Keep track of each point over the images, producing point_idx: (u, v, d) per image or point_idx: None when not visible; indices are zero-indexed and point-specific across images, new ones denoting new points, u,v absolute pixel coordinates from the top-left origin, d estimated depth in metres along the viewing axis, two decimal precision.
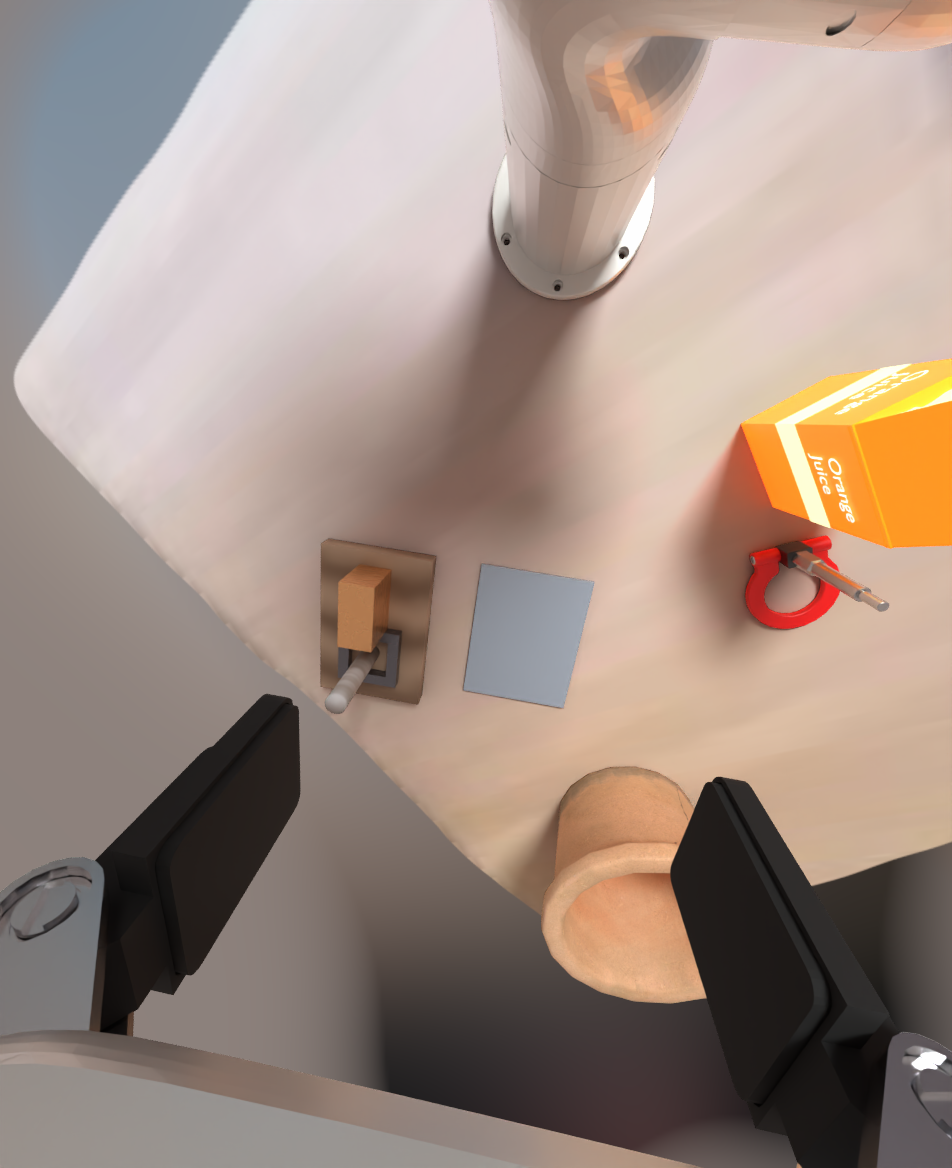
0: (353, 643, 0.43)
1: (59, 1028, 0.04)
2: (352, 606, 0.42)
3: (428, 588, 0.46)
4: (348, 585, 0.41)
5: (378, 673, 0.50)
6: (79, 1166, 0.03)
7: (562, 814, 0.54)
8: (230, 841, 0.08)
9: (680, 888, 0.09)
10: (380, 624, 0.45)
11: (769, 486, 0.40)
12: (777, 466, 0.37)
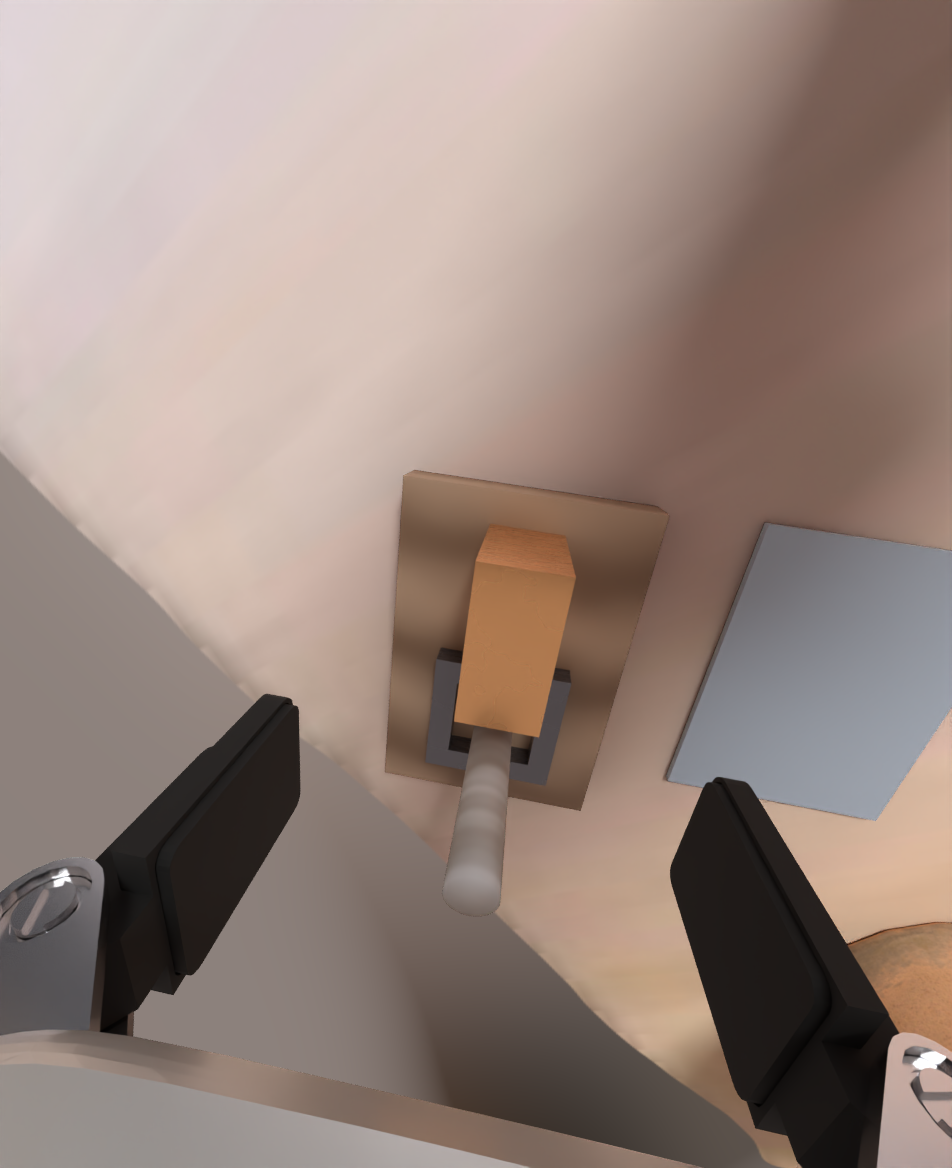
0: (496, 715, 0.17)
1: (59, 1028, 0.04)
2: (506, 626, 0.16)
3: (647, 579, 0.20)
4: (502, 570, 0.15)
5: None
6: (79, 1166, 0.03)
7: None
8: (230, 841, 0.08)
9: (680, 888, 0.09)
10: None
11: None
12: None
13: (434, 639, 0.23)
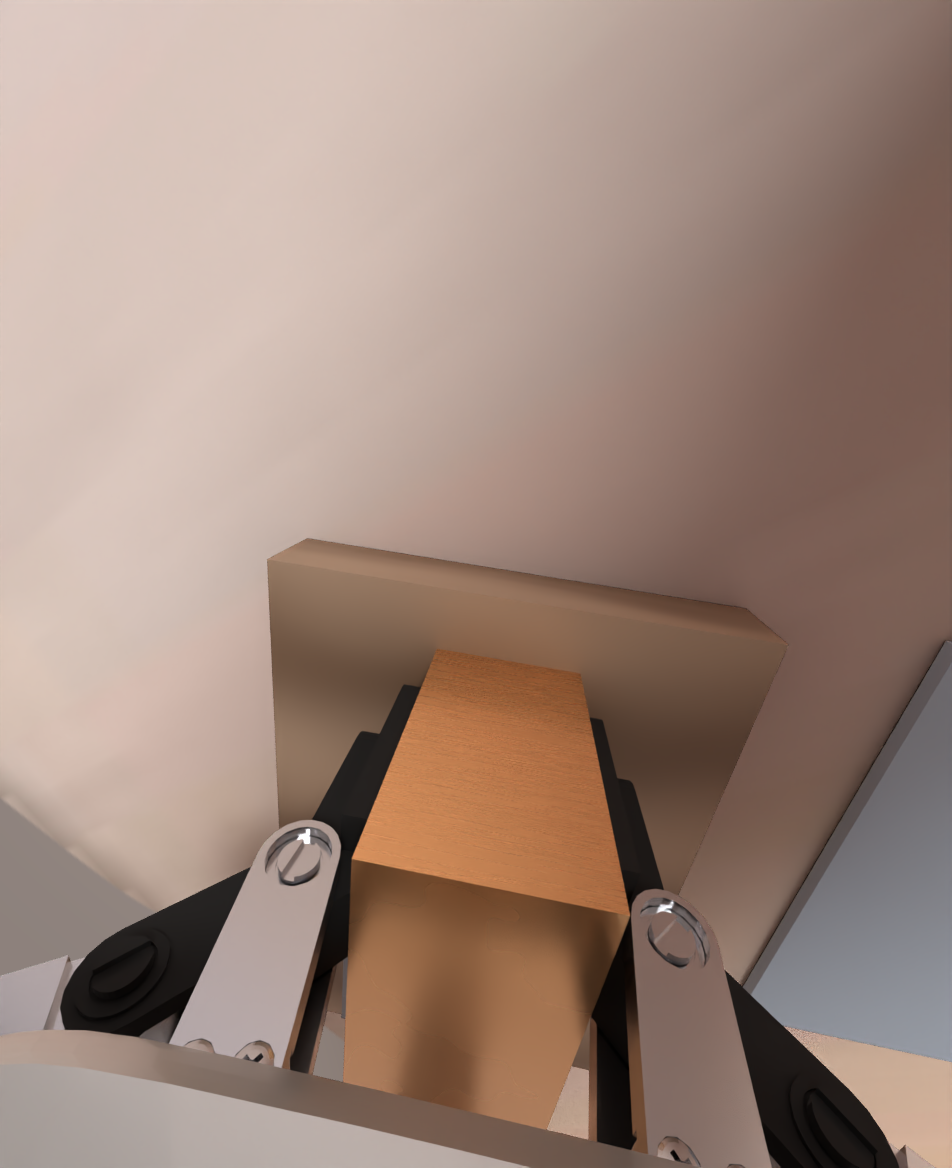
0: None
1: (281, 990, 0.05)
2: (445, 990, 0.06)
3: (734, 752, 0.11)
4: (425, 883, 0.06)
5: None
6: (79, 1165, 0.03)
7: None
8: None
9: None
10: None
11: None
12: None
13: None
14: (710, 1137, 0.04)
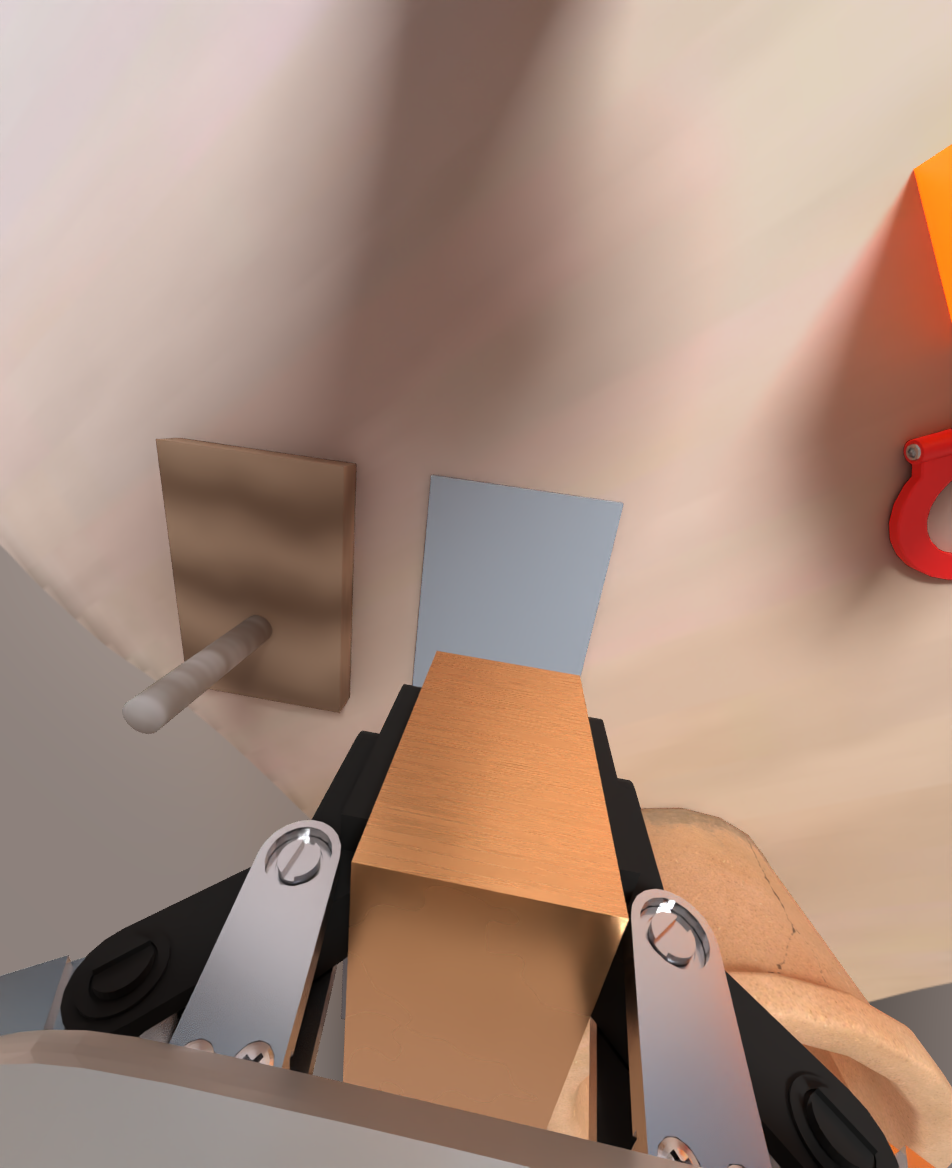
0: None
1: (280, 990, 0.05)
2: (445, 992, 0.06)
3: (340, 516, 0.27)
4: (424, 886, 0.06)
5: None
6: (79, 1165, 0.03)
7: None
8: None
9: None
10: None
11: None
12: None
13: (202, 569, 0.30)
14: (709, 1136, 0.04)
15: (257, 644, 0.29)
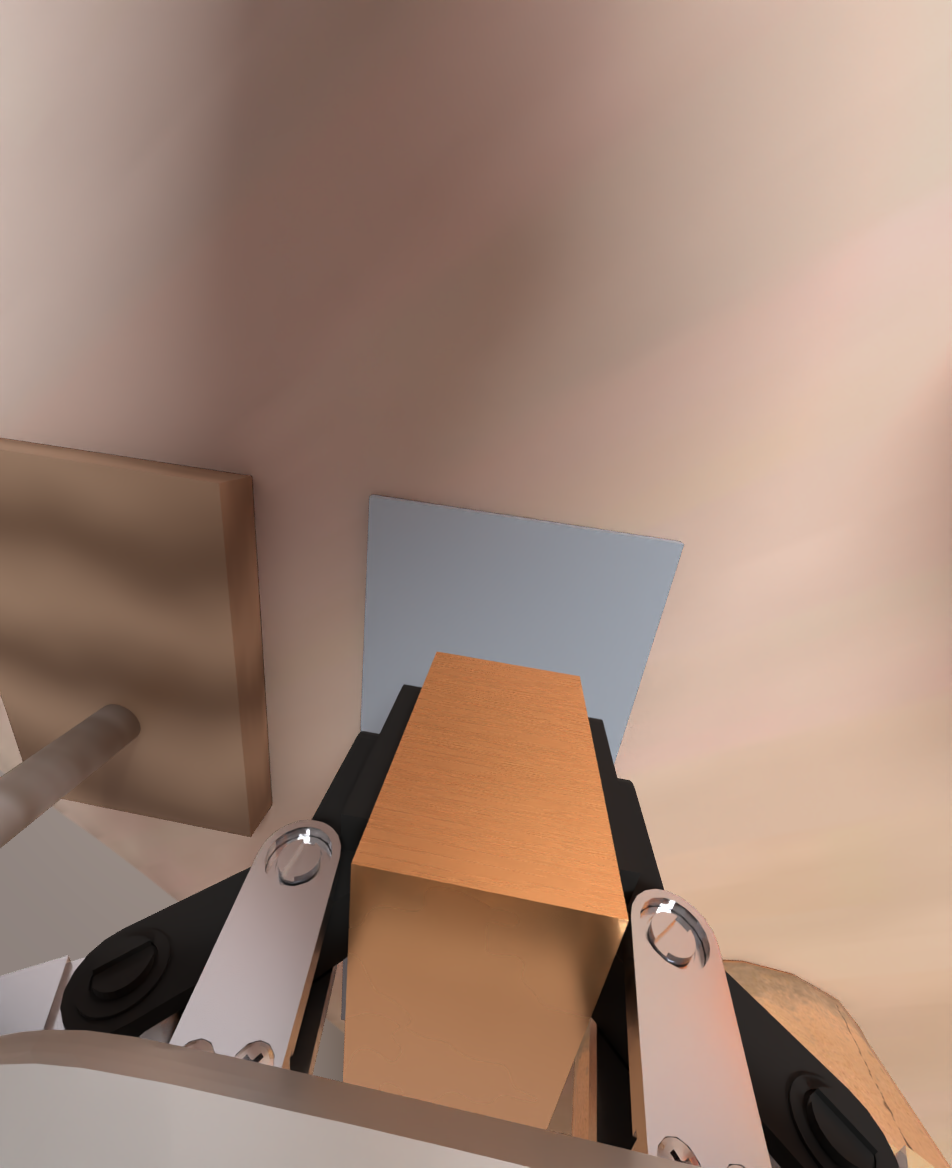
0: None
1: (281, 989, 0.05)
2: (445, 994, 0.06)
3: (222, 562, 0.17)
4: (424, 888, 0.06)
5: None
6: (79, 1165, 0.03)
7: (584, 1062, 0.25)
8: None
9: None
10: None
11: None
12: None
13: (24, 637, 0.19)
14: (710, 1137, 0.04)
15: (106, 755, 0.19)
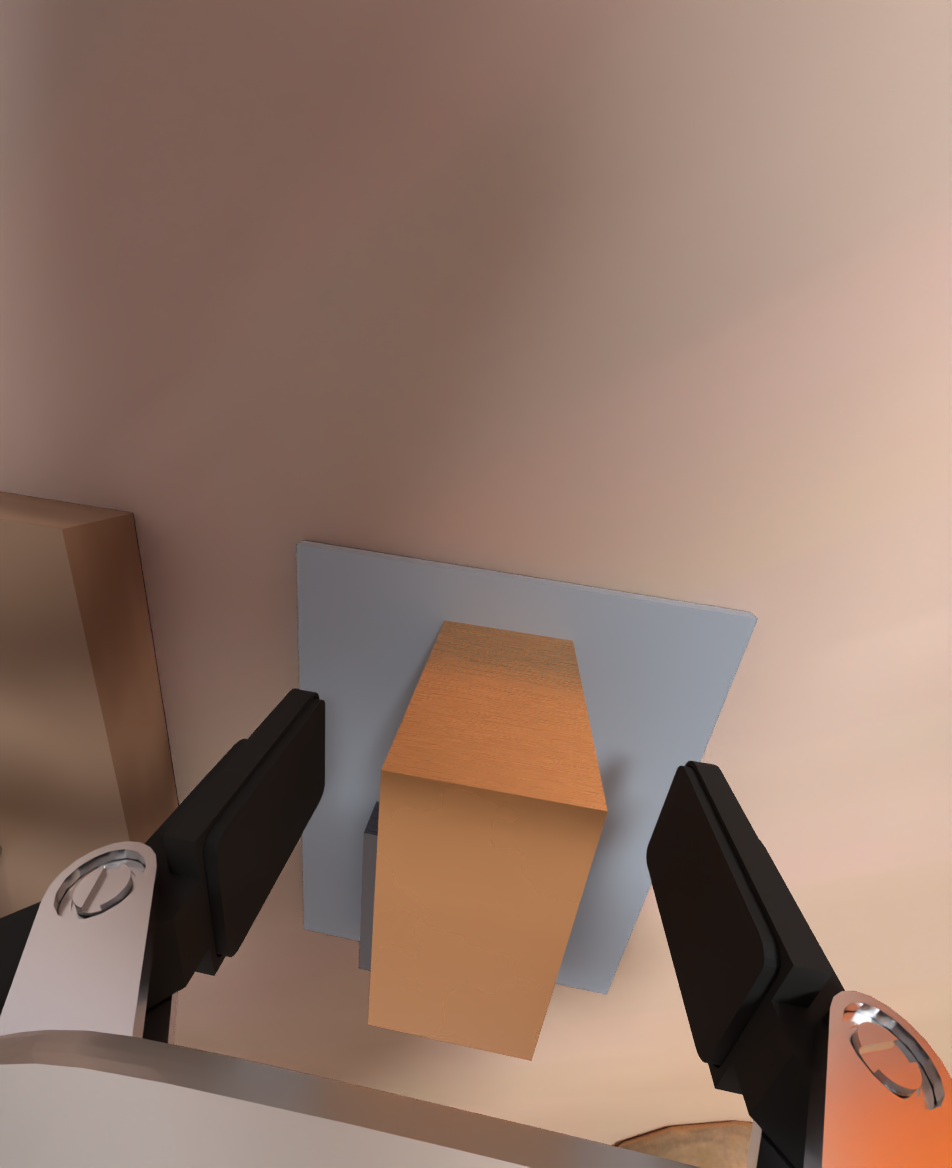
0: (447, 1023, 0.09)
1: (109, 1009, 0.05)
2: (457, 888, 0.07)
3: (81, 640, 0.12)
4: (441, 789, 0.07)
5: None
6: (79, 1166, 0.03)
7: None
8: (266, 829, 0.08)
9: (654, 869, 0.10)
10: None
11: None
12: None
13: None
14: None
15: None
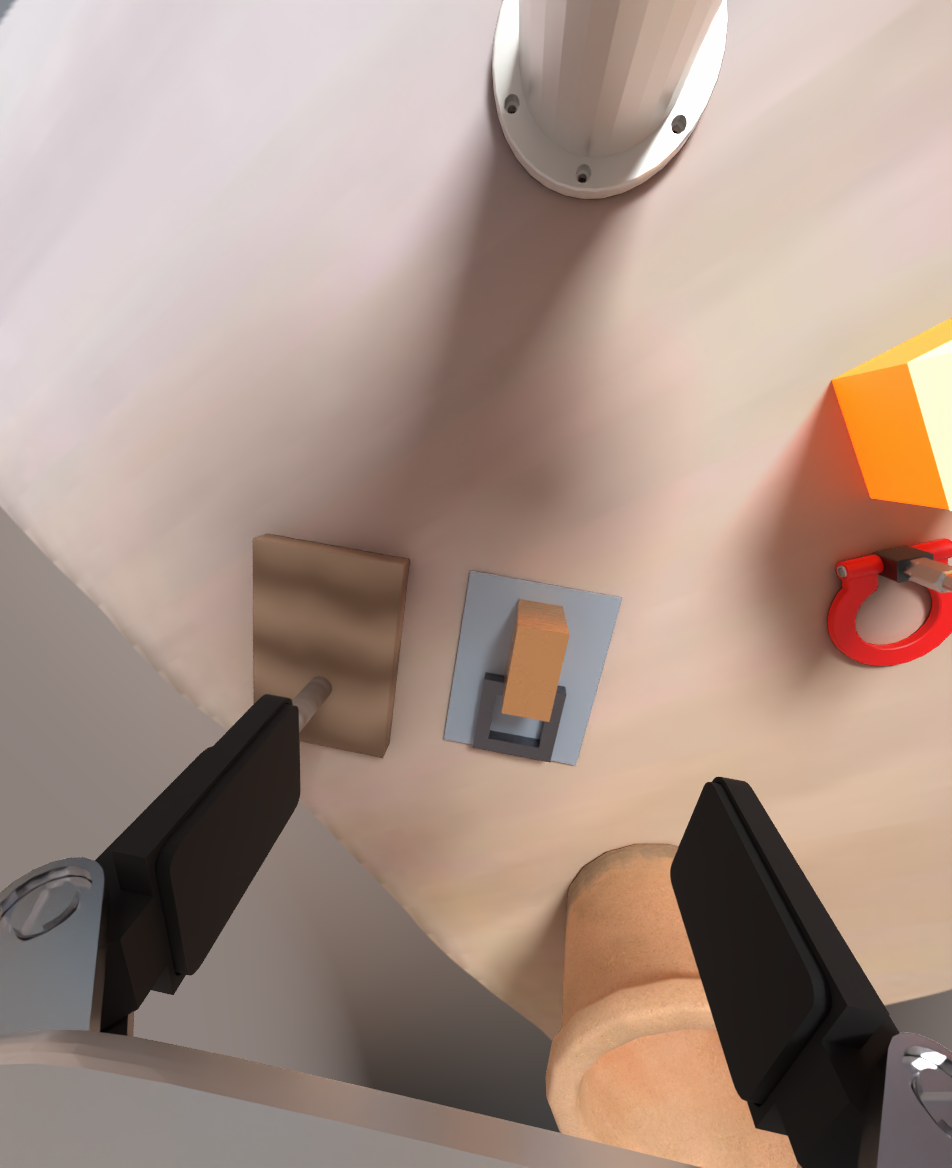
0: (525, 709, 0.31)
1: (59, 1028, 0.04)
2: (533, 659, 0.30)
3: (397, 602, 0.34)
4: (531, 630, 0.30)
5: (528, 742, 0.38)
6: (79, 1166, 0.03)
7: (572, 907, 0.41)
8: (230, 841, 0.08)
9: (680, 888, 0.09)
10: None
11: (870, 467, 0.29)
12: (894, 434, 0.26)
13: (278, 638, 0.36)
14: None
15: (322, 702, 0.36)
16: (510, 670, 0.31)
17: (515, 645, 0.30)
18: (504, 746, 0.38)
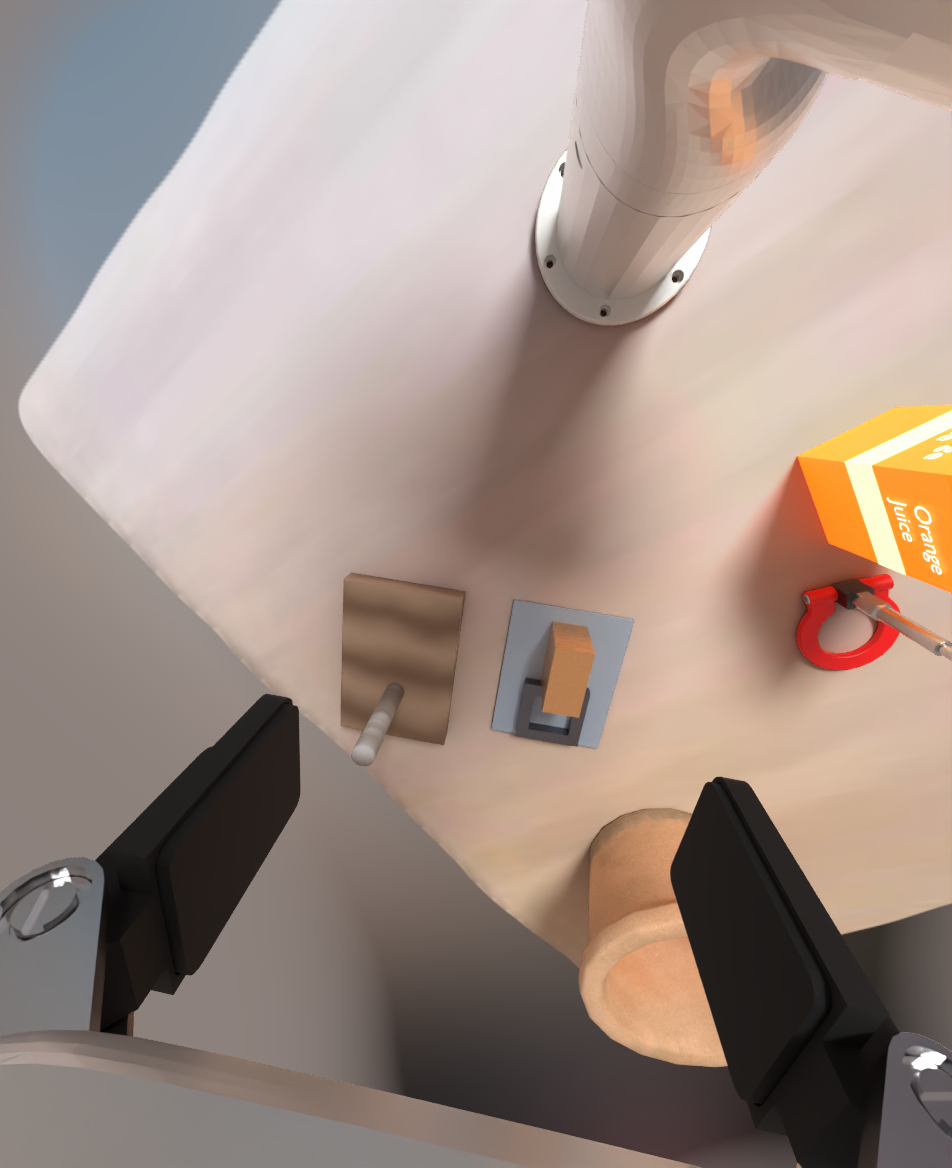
0: (560, 708, 0.41)
1: (59, 1028, 0.04)
2: (567, 671, 0.40)
3: (457, 626, 0.44)
4: (566, 650, 0.39)
5: (559, 731, 0.48)
6: (79, 1166, 0.03)
7: (595, 859, 0.51)
8: (230, 841, 0.08)
9: (680, 888, 0.09)
10: None
11: (827, 522, 0.38)
12: (840, 504, 0.34)
13: (362, 654, 0.46)
14: None
15: (399, 703, 0.46)
16: (549, 680, 0.40)
17: (553, 662, 0.40)
18: (540, 735, 0.48)
